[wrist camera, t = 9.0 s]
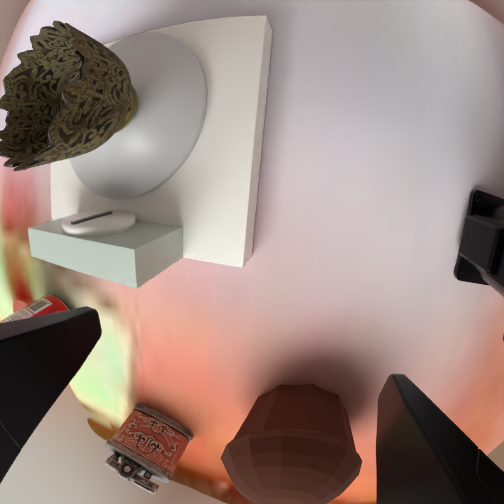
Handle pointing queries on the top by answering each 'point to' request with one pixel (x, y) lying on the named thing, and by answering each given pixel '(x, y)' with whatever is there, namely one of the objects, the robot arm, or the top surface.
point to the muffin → (293, 448)
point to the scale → (169, 158)
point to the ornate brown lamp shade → (63, 98)
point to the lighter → (147, 447)
